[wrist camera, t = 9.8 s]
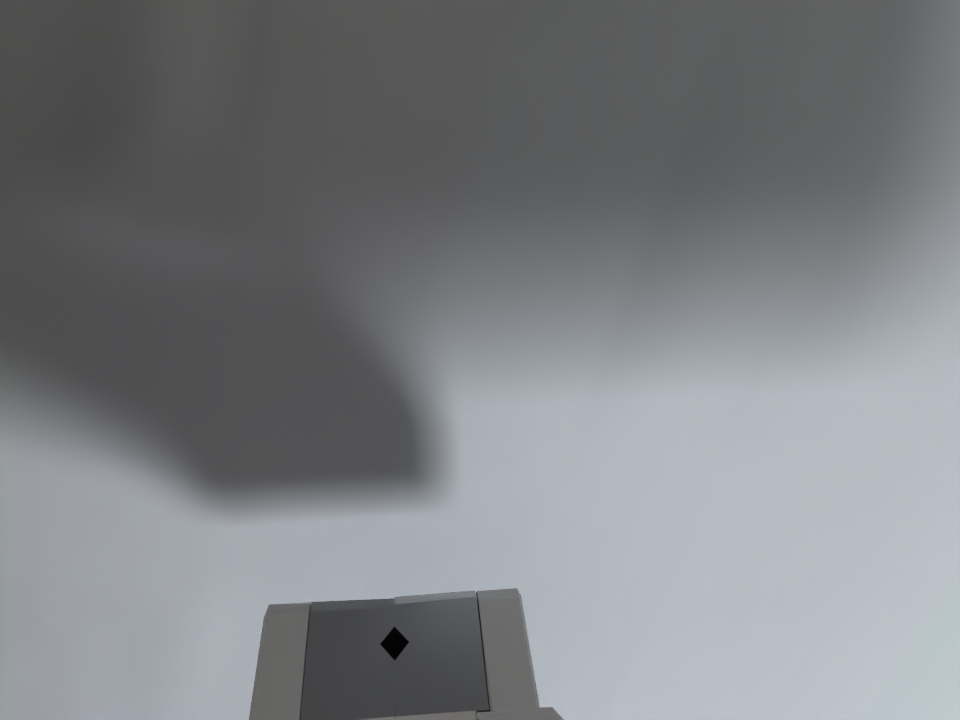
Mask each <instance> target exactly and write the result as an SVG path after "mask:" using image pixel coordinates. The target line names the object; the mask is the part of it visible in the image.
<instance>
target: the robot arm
mask: <svg viewBox="0 0 960 720" xmlns="http://www.w3.org/2000/svg"><path fill="white" fill-rule="evenodd" d="M249 720H564V719H563V718H562V717H561V716H560V715H559V714H558V713H557V712H556V711H555V710H554V708H553V707H541V708H540V706H539V700H538V695H537V689H536V683H535V677H534V671H533V665H532V659H531V653H530V647H529V641H528V635H527V629H526V623H525V617H524V611H523V605H522V599H521V595H520V593H519V591H518V590H517V588H515V589H501V590H486V591H477V592H476V593H475V591H463V592H451V593H438V594H426V595H414V596H401V597H395V599H371V600H348V601H324V602H308V603H290V604H271V605H269V606H268V609H267V611H266V614H265V616H264V621H263V627H262V634H261V641H260V648H259V655H258V662H257V668H256V675H255V682H254V689H253V696H252V702H251V709H250V716H249Z"/></svg>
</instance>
